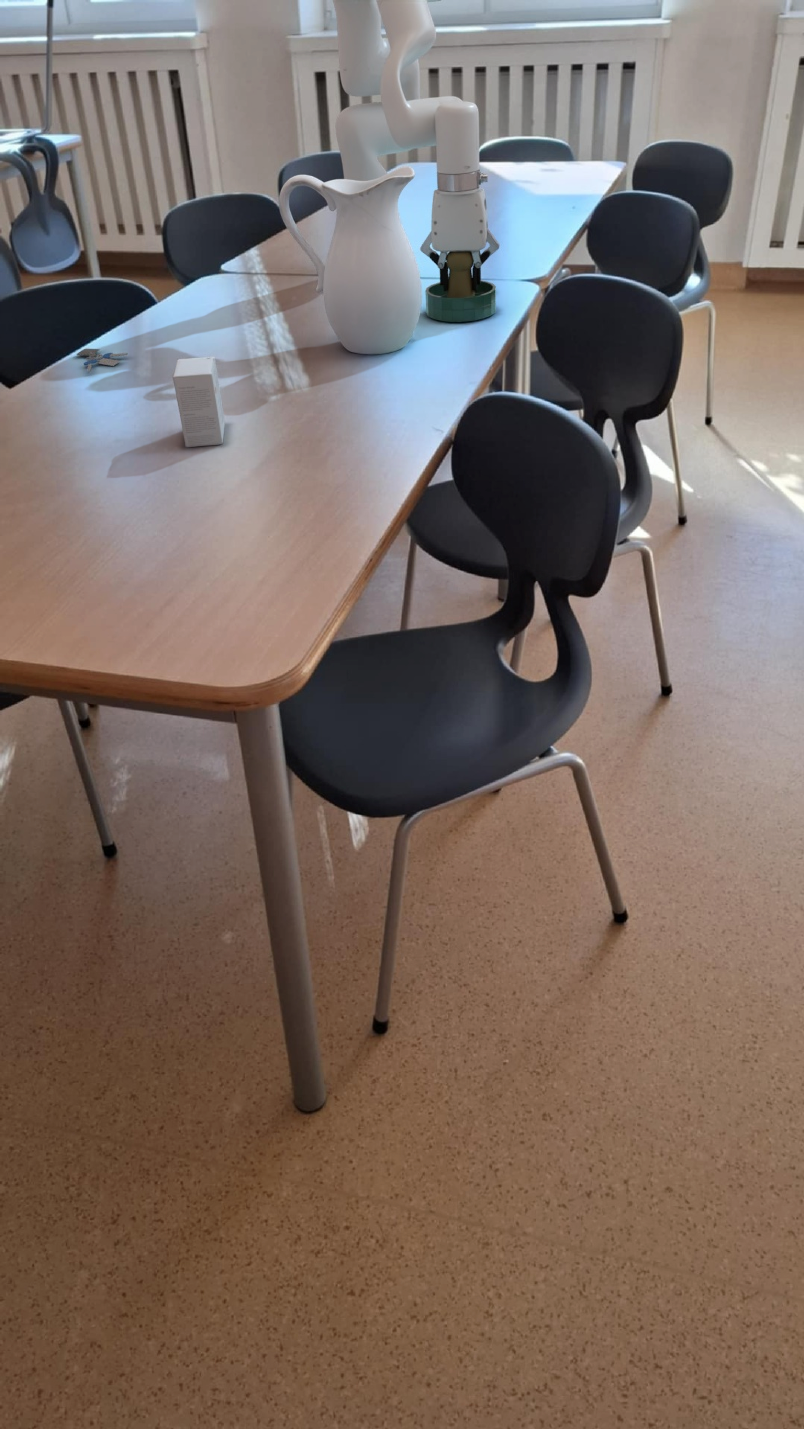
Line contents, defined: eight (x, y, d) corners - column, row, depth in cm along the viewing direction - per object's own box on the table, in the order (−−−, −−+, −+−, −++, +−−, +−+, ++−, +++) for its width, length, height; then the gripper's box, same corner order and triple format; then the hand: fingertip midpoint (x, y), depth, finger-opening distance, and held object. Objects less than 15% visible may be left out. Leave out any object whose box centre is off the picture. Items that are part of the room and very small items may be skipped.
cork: (474, 316, 199) (473, 253, 192) (442, 316, 200) (440, 254, 194) (479, 307, 204) (478, 245, 197) (448, 306, 205) (446, 246, 198)
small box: (189, 428, 161) (176, 358, 155) (226, 425, 161) (215, 355, 155) (184, 448, 155) (171, 376, 148) (223, 445, 155) (211, 373, 149)
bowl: (423, 324, 198) (422, 299, 195) (430, 304, 208) (429, 280, 206) (493, 322, 196) (493, 297, 193) (497, 302, 206) (497, 278, 204)
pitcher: (436, 333, 193) (429, 162, 176) (405, 362, 180) (395, 182, 164) (315, 327, 200) (298, 162, 184) (277, 355, 187) (256, 181, 171)
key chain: (74, 353, 194) (73, 348, 194) (119, 345, 197) (118, 340, 196) (87, 374, 184) (86, 370, 183) (134, 366, 186) (134, 361, 186)
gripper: (507, 176, 191) (507, 282, 201) (413, 179, 193) (417, 284, 204) (505, 184, 185) (505, 293, 195) (408, 188, 187) (413, 295, 198)
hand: (460, 287), depth 199 cm, fingers closed on cork, 4 cm apart
